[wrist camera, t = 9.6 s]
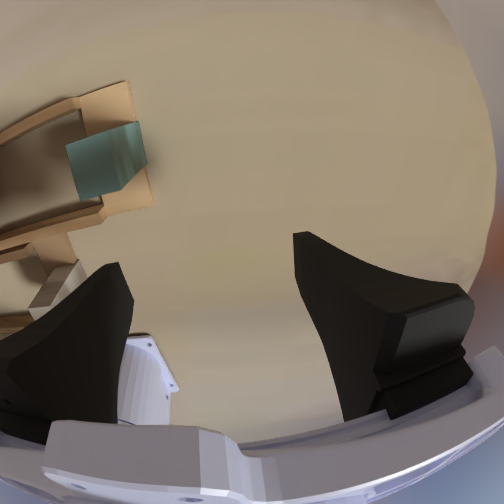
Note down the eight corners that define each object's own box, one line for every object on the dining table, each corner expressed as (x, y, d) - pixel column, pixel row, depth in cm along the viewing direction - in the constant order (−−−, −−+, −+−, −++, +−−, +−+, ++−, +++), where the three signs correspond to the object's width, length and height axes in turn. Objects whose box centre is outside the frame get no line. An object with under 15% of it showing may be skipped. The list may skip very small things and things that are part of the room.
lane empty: (104, 314, 24) (87, 363, 18) (-14, 322, 23) (-34, 356, 18) (66, 228, 19) (30, 270, 14) (-47, 263, 18) (-74, 293, 13)
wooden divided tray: (156, 202, 19) (136, 242, 14) (-17, 248, 18) (-50, 283, 13) (131, 80, 15) (97, 74, 10) (-44, 166, 14) (-85, 189, 9)
